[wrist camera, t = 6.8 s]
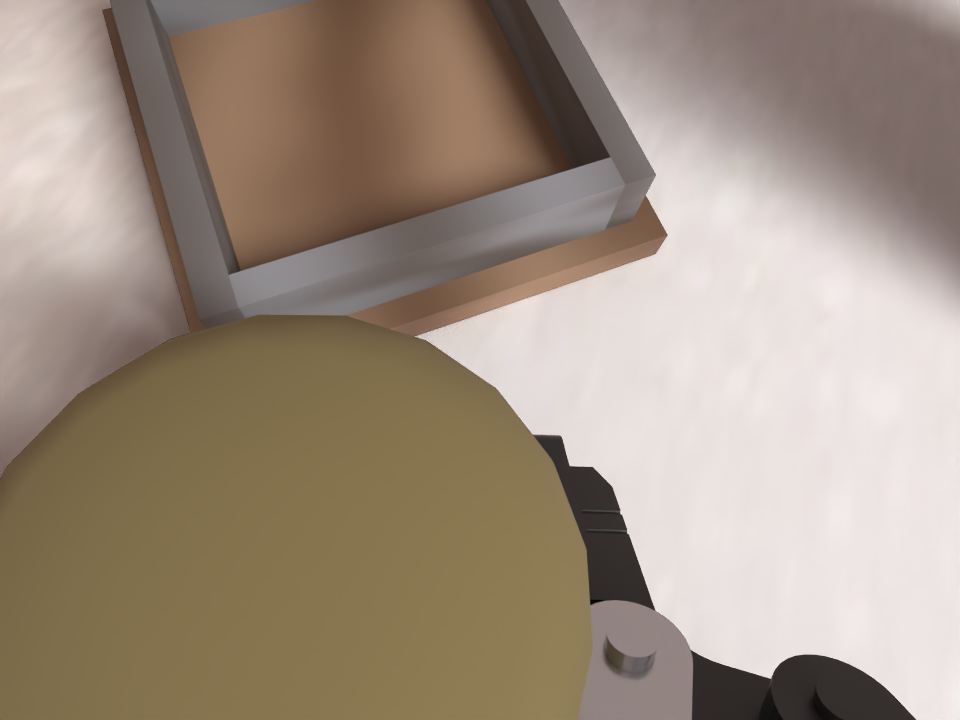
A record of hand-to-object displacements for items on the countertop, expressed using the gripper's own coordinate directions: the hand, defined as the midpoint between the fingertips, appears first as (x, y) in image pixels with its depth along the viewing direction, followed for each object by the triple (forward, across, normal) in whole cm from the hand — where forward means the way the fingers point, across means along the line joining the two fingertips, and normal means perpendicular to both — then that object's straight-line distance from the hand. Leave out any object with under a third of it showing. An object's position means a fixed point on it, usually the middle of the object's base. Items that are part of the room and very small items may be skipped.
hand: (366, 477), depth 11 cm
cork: (+2, 0, +5) cm, 5 cm away
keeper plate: (+11, +1, -4) cm, 11 cm away
